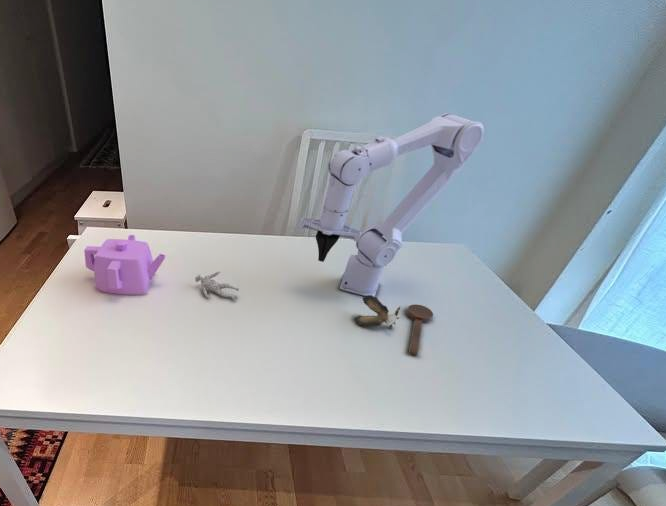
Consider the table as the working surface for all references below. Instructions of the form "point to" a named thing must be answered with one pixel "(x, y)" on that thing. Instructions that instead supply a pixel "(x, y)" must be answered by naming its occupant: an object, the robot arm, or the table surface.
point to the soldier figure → (214, 285)
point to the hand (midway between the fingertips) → (321, 259)
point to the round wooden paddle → (417, 324)
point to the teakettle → (122, 265)
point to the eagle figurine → (380, 310)
